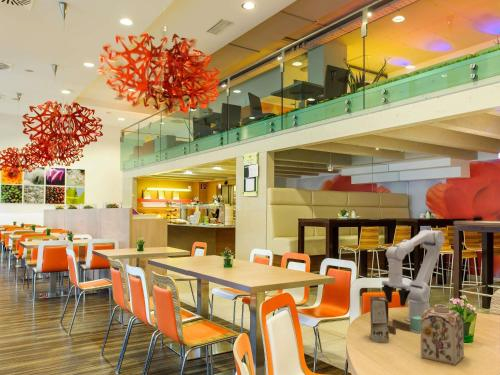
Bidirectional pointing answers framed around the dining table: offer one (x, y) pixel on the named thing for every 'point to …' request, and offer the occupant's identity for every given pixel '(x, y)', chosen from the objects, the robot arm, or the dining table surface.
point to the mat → (415, 331)
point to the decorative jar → (442, 335)
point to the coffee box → (379, 319)
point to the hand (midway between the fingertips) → (396, 304)
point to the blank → (415, 323)
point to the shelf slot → (398, 326)
